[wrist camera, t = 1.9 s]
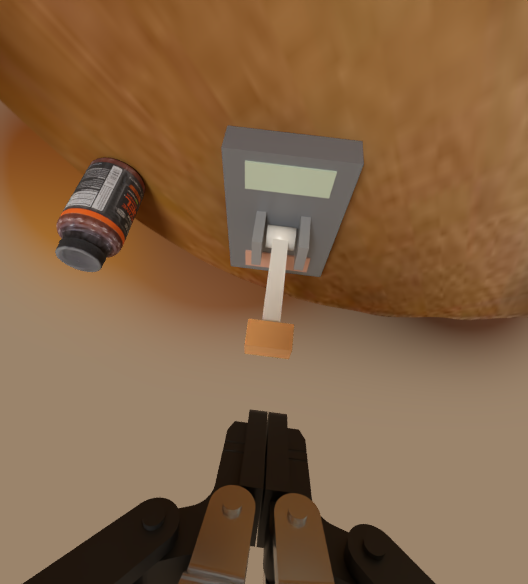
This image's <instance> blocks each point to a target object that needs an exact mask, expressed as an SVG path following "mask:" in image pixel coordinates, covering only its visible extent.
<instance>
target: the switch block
mask: <svg viewBox="0 0 528 584" xmlns="http://www.w3.org/2000/svg"><path fill="white" fill-rule="evenodd" d="M221 148H222V160H223V173H224V185H225V198H226V210H227V223H228V235H229V248H230V260H231V266H236V267H244V268H252V269H260V270H268V271H269V265H270V257H271V250H272V248H267V247H265V245H266V235H267V228H268V225H276V226H284V227H292V228H296V239H295V246H294V250H293V251H291V250H287V260H286V270H285V273H292V274H300V275H308V276H316V277H320V276H321V274H322V271H323V268H324V266H325V263H326V261H327V258H328V255H329V253H330V250H331V248H332V245H333V242H334V240H335V237H336V235H337V232H338V230H339V227H340V224H341V222H342V219H343V217H344V214H345V211H346V209H347V206H348V204H349V201H350V198H351V196H352V193H353V191H354V188H355V186H356V183H357V180H358V178H359V175H360V173H361V170H362V167H363V165H364V161H363V142H362V141H355V140H346V139H337V138H329V137H320V136H312V135H303V134H295V133H286V132H278V131H269V130H261V129H252V128H244V127H235V126H227V130H226V133H225V137H224V140H223V144H222V147H221Z"/></svg>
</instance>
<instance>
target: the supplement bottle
mask: <svg viewBox="0 0 528 584" xmlns="http://www.w3.org/2000/svg"><path fill="white" fill-rule="evenodd" d="M144 193H145V185H144V182H143V180H142V178H141V177H140V176H139V174H138V173H137V172H136V171H135V170H134V169H133V168H132V167H130V166H129V165H127V164H125V163H123V162H121V161H119V160H116V159H113V158H98V159H96V160H94V161H93V162H92V163H91V164H90V166H89V167H88V169H87V170H86V172H85V174H84V176H83V177H82V179H81V181H80V182H79V184H78V186H77V188H76V190H75V192H74V193H73V195H72V196H71V198H70V200H69V202H68V203H67V205H66V207H65V209H64V210H63V213H62V214H61V216H60V218H59V220H58V222H57V231H58V234H59V236H60V237H61V238H62V239H61V240H60V241H59V245H58V247H57V249H56V255H57V257H58V258H59V259H60V260H61V261H62V262H64V263H65V264H67V265H69V266H70V267H73V268H75V269H78V270H81V271H87V272H96V271H99V270H100V269H101V268H102V265H103V263H104V262H105V260H106V257H112V256H114V255H116V254H117V253H118V252H119V251H120V250H121V248H122V246H123V244H124V241H125V240H126V237H127V235H128V232H129V230H130V227H131V225H132V223H133V220H134V218H135V215H136V213H137V211H138V209H139V206H140V204H141V201H142V199H143V196H144Z"/></svg>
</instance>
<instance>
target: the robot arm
mask: <svg viewBox="0 0 528 584" xmlns="http://www.w3.org/2000/svg"><path fill="white" fill-rule="evenodd" d="M257 528H258V536H257V547H261V548H264V559H263V569H264V575H263V584H435V583H434V582H433V581H432V580H431V579H430V578H429V577H428V576H427V575H426V574H425V573H424V572H423V571H422V570H421V569H420V568H419V567H418V566H417V565H416V564H415V563H414V562H413V561H412V560H411V559H410V558H409V556H408V555H407V554H405V552H404V551H402V549H401V548H399V547H398V545H397V544H396V543H394V541H392V539H391V538H390V537H389V536H388V535H386V534H385V533H384V532H383V531H381V530H380V529H378V528H376V527H374V526H372V525H367V524H360V525H357V526H355V527H353V528H352V529H351V530H350V532H346V531H344V530H342V529H340V528H338V527H336V526H334V525H332V524H330V523H328V522H327V521H326V520H324V519H323V518H322V517H321V516H320V512H319V510H318V508H317V506H316V505H315V504H314V503H313V502H312V497H311V489H310V479H309V470H308V463H307V453H306V443H305V439H304V437H303V436H302V434H301V432H300V431H299V430H297V429H290V428H287V414H280V413H271V412H269V414H268V420H267V412H265V411H258V410H250V412H249V419H248V423H245V422H237V421H235V422H234V423H233V424H232V425H231V426H230V427H229V429H228V430H227V434H226V439H225V444H224V448H223V452H222V456H221V461H220V465H219V470H218V474H217V479H216V483H215V487H214V489H213V491H212V493H211V494H210V495H209V496H208V497H207V498H206V500H204V501H202V502H201V503H199V504H196V505H193V506H189V507H183V508H177V506H176V505H175V504H174V503H173V502H172V501H170V500H168V499H166V498H153V499H149V500H146V501H144V502H142V503H141V504H139V505H138V506H136V507H135V508H133V509H132V510H130V511H129V512H128V513H126V514H125V515H123V516H122V517H120V518H119V519H117V520H116V521H115V522H113V523H111V524H110V525H108V526H107V527H105V528H104V529H102V530H101V531H100V532H98V533H97V534H95V535H94V536H92V537H91V538H89V539H88V540H86V541H85V542H83V543H82V544H80V545H79V546H77V547H76V548H75V549H73V550H72V551H70V552H69V553H67V554H66V555H64V556H63V557H61V558H60V559H58V560H57V561H55V562H54V563H52V564H51V565H49V566H48V567H47V568H45V569H44V570H42V571H41V572H40V573H38V574H36V575H35V576H33V577H32V578H30V579H29V580H27V581H26V582H24V583H23V584H245V578H246V571H247V563H248V557H249V550H250V546H255V541H256V534H257Z"/></svg>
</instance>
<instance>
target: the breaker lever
mask: <svg viewBox="0 0 528 584" xmlns="http://www.w3.org/2000/svg"><path fill="white" fill-rule="evenodd" d="M295 239H296V228H292V227H284V226H276V225H268V228H267V235H266V245H265V247H267V248H272V250H271V257H270V265H269V273H268V280H267V288H266V296H265V304H264V311H263V319H262V320H255V319H249V320H248V326H247V333H246V339H245V354H252V355H260V356H268V357H275V358H284V359H289V357H290V355H291V352H292V345H293V332H294V324H287V323H280V320H281V319H280V318H281V309H282V300H283V290H284V280H285V270H286V260H287V250H291V251H293V250H294V246H295Z"/></svg>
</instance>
